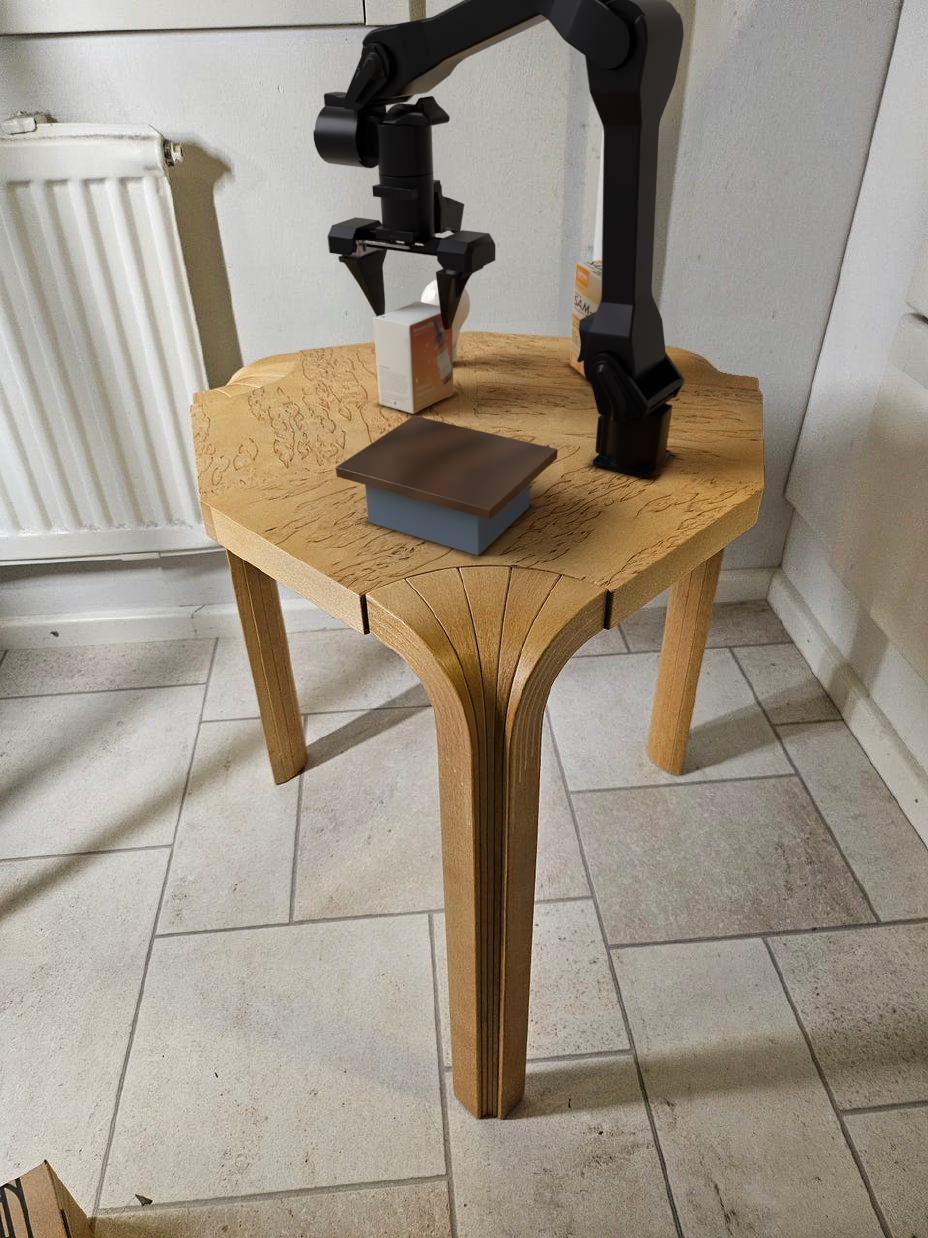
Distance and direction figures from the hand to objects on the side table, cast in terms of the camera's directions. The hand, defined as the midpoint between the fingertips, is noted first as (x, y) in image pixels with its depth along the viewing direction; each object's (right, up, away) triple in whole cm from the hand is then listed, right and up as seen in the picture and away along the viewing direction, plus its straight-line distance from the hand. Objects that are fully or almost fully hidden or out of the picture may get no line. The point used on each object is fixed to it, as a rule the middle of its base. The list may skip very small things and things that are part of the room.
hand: (413, 322), depth 99 cm
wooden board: (+4, -20, -20) cm, 29 cm away
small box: (0, -8, +6) cm, 10 cm away
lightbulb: (+4, 0, +15) cm, 16 cm away
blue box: (+4, -24, -17) cm, 30 cm away
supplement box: (+23, -3, +12) cm, 26 cm away
